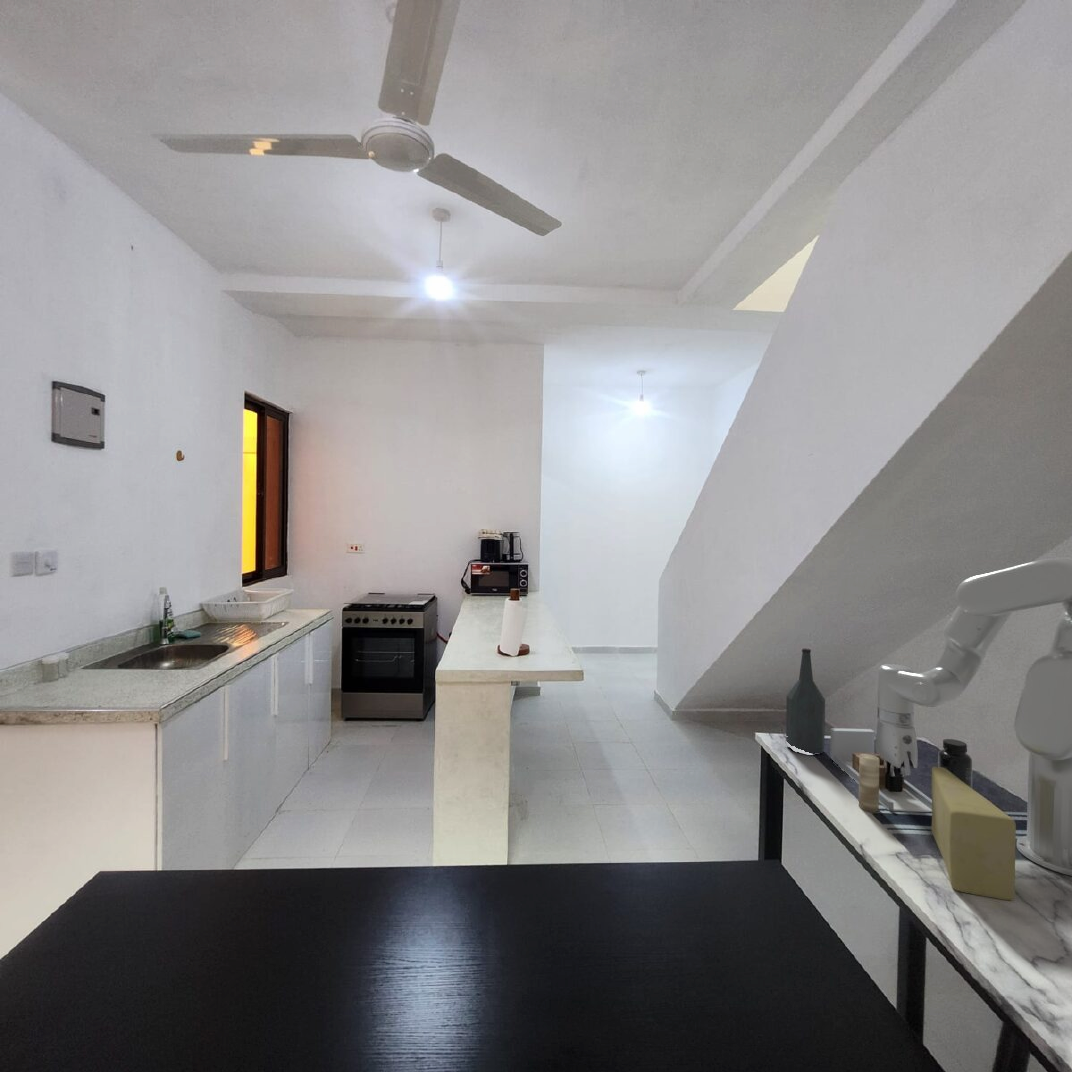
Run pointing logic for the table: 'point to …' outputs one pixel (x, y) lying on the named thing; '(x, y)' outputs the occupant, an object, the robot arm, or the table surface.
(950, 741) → the supplement bottle
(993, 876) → the cheese
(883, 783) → the brown wooden open box
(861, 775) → the dowel
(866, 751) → the track
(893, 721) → the robot arm
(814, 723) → the bottle
